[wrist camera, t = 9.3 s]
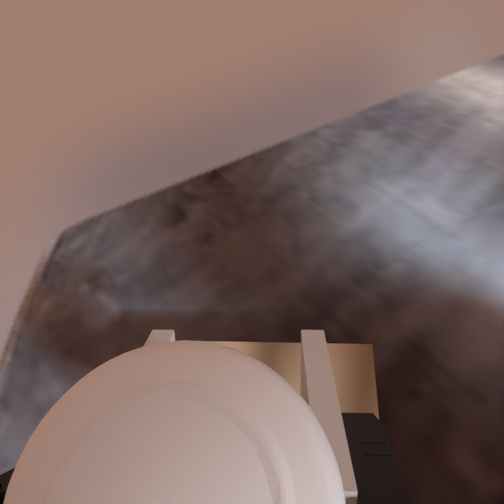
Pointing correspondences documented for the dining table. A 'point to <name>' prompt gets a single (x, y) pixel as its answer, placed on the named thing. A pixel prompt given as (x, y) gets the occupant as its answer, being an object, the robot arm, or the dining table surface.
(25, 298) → the dining table surface
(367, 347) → the stool
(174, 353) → the spice jar
